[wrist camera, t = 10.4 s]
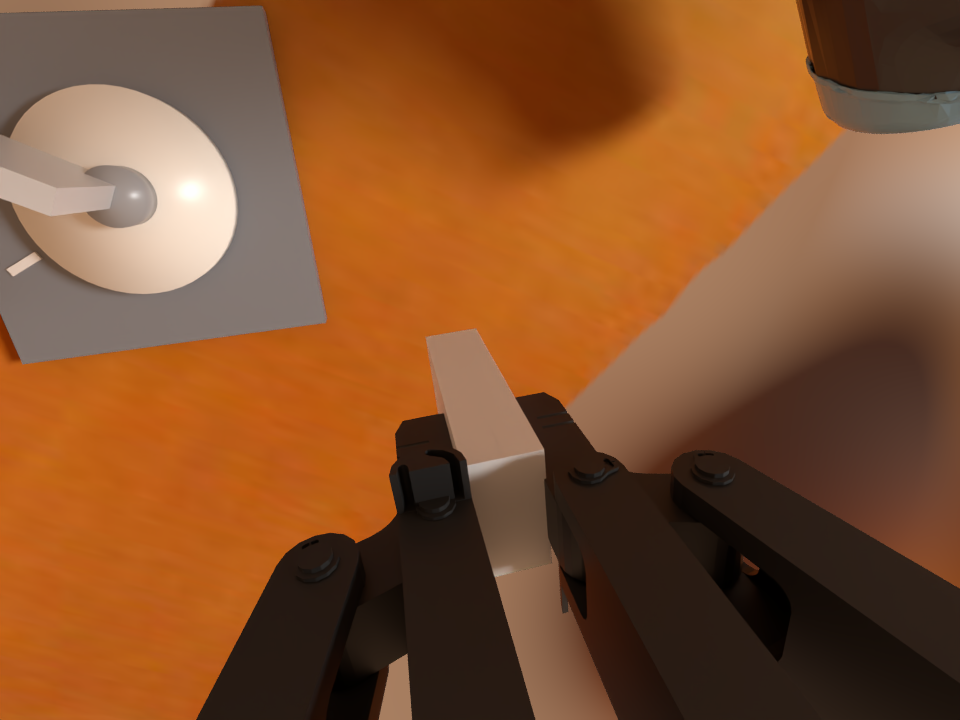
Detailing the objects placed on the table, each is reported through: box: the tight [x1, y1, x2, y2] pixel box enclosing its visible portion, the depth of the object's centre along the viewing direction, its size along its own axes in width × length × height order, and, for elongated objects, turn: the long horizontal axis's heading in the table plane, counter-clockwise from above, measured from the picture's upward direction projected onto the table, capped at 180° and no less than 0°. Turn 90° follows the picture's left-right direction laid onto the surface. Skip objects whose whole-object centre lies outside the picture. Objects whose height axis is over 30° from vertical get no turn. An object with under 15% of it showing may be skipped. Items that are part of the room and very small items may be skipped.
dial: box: [0, 84, 238, 294], centre depth 31 cm, size 17×14×10 cm
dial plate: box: [0, 6, 327, 364], centre depth 37 cm, size 23×23×2 cm
